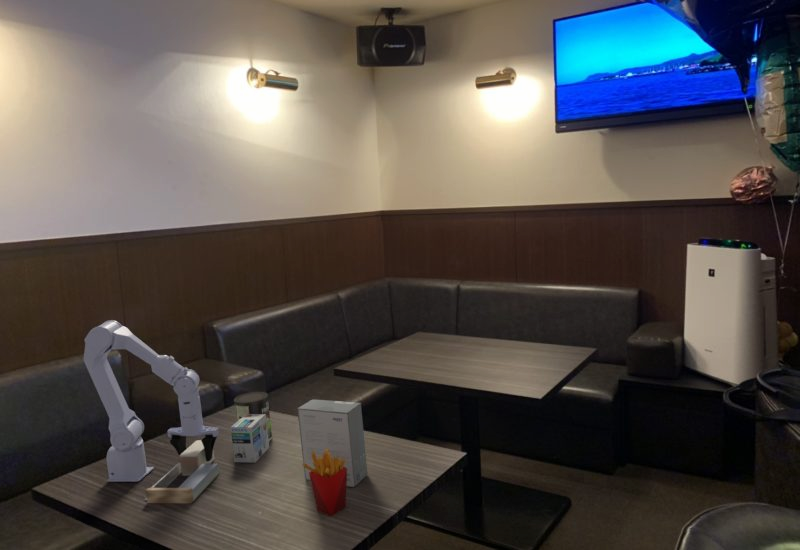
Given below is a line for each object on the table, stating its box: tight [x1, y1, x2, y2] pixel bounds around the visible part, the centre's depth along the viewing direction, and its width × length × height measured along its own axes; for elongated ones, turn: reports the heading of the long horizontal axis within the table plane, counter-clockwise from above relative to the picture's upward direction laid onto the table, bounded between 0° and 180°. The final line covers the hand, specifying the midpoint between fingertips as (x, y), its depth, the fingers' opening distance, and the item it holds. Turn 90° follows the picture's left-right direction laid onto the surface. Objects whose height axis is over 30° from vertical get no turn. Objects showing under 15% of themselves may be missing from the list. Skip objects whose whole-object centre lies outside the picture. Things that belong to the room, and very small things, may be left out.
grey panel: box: [144, 462, 182, 502], centre depth 160 cm, size 2×15×3 cm, turn 172°
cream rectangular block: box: [178, 439, 216, 476], centre depth 170 cm, size 5×10×6 cm, turn 172°
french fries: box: [301, 449, 348, 517], centre depth 140 cm, size 9×8×15 cm
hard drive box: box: [297, 399, 368, 488], centre depth 157 cm, size 16×8×20 cm, turn 65°
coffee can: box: [233, 391, 273, 442], centre depth 186 cm, size 10×10×14 cm
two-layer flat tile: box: [177, 463, 220, 501], centre depth 158 cm, size 5×15×3 cm, turn 172°
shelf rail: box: [145, 487, 195, 504], centre depth 151 cm, size 12×1×4 cm, turn 82°
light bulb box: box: [230, 414, 270, 464], centre depth 175 cm, size 11×7×11 cm, turn 170°
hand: (196, 459), depth 169 cm, fingers open, 7 cm apart
